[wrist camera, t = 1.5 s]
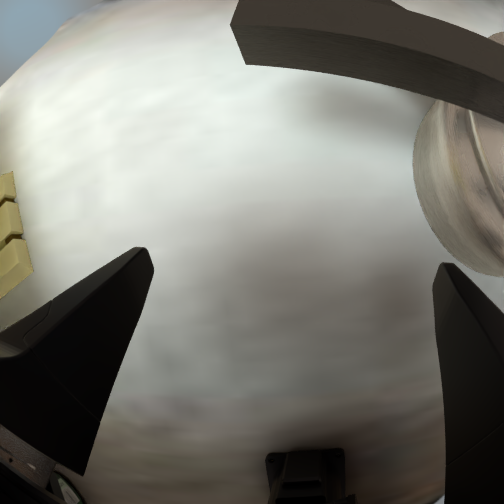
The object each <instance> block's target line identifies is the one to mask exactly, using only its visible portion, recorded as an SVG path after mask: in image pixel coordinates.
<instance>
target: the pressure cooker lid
mask: <svg viewBox="0 0 504 504" xmlns="http://www.w3.org/2000/svg"><path fill="white" fill-rule="evenodd" d="M230 26H231V29H232V31H233V33H234V36H235V38H236V41H237V43H238V46H239V48H240V51H241V54H242V56H243V59H244V61H245V64H246V65H260V66H272V67H283V68H292V69H300V70H308V71H315V72H322V73H328V74H334V75H340V76H346V77H351V78H356V79H361V80H366V81H371V82H375V83H380V84H384V85H388V86H392V87H396V88H400V89H404V90H408V91H412V92H415V93H419V94H422V95H426V96H429V97H432V98H435V99H439V100H442V101H445V102H448V103H451V104H454V105H457V106H460V107H463V108H464V110H465V119H466V124H467V129H468V134H469V138H470V141H471V145H472V148H473V152H474V155H475V158H476V161H477V163H478V166H479V169H480V172H481V174H482V176H483V179H484V181H485V183H486V186H487V188H488V191H489V192H490V194H491V196H492V198H493V200H494V202H495V204H496V206H497V208H498V210H499V211H500V213H501V215H502V216H503V218H504V32H500V33H496V34H493V35H492V36H490V37H489V38H486V37H484V36H481V35H479V34H477V33H474V32H472V31H469V30H467V29H464V28H461V27H459V26H456V25H453V24H451V23H448V22H445V21H442V20H439V19H436V18H433V17H429V16H426V15H423V14H419V13H416V12H412V11H409V10H405V9H401V8H397V7H393V6H389V5H385V4H380V3H375V2H370V1H365V0H239V2H238V4H237V7H236V10H235V12H234V15H233V18H232V21H231V23H230Z"/></svg>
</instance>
